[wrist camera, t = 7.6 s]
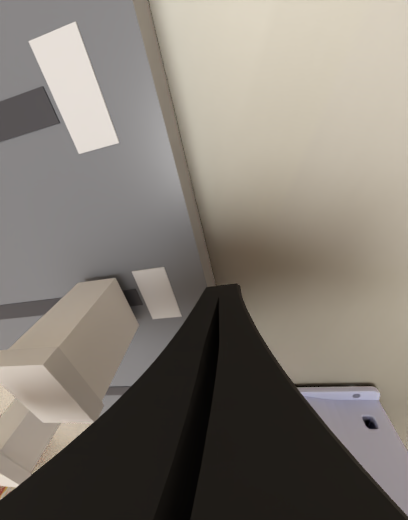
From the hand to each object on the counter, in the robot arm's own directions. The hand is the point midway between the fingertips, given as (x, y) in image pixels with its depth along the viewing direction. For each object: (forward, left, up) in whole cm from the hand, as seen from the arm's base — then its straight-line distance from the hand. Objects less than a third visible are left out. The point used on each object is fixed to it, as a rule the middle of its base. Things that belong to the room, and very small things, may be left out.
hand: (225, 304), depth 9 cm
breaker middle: (+6, 0, -1) cm, 6 cm away
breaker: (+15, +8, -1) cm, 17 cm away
